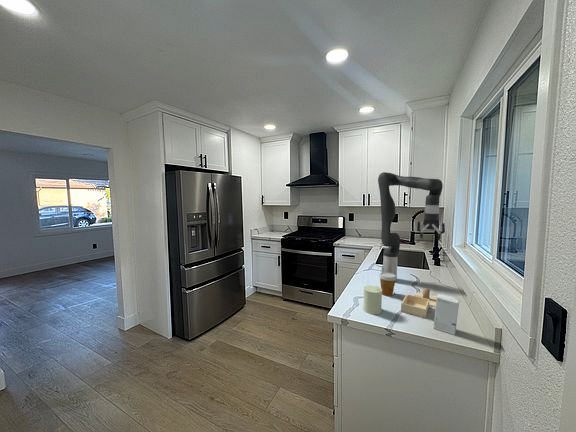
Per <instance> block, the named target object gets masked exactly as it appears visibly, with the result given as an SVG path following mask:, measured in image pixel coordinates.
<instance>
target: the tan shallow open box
mask: <svg viewBox="0 0 576 432" xmlns="http://www.w3.org/2000/svg"><path fill="white" fill-rule="evenodd" d="M400 306H401V307H400V312H401V313H404V314H408V315H410V316H411V315H412V316H415V317H418V318H419V317H420V318H422V319H426V317H427V314H428V312H429V308H430V305H429V299H426V298H422V297H418V296H415V295H414V294H413V295H412V294H407V293H406V294H405V295H404V298H403V299H402V301H401V305H400Z"/></svg>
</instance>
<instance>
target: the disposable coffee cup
mask: <svg viewBox="0 0 576 432" xmlns="http://www.w3.org/2000/svg"><path fill="white" fill-rule="evenodd" d="M379 280H380V281H379V282H380V288H381V289H382V296H385V297H392V296H393V295H394V290H395V284H396V281H395V280H396V276H395V275H394V274H392V273H382V272H381V273H380V274H379Z"/></svg>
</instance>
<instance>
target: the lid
mask: <svg viewBox="0 0 576 432" xmlns="http://www.w3.org/2000/svg"><path fill="white" fill-rule="evenodd" d="M422 290H423V292H419V291H416V293H415V295H414V296H418V297H422V298H426V299H429V307H430V306H431V307H434V308H436V300H437V296H438V295H434V294H433V295H432V294H431V289H430V288H427V287H424V288H423V289H422Z"/></svg>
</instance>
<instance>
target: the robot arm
mask: <svg viewBox="0 0 576 432" xmlns="http://www.w3.org/2000/svg"><path fill="white" fill-rule="evenodd" d="M377 182H378V183H377V184H378V189H379V197H380V214H381V232H380V233H381V234H380V235H381V236H380V238H381V239H380V240H381V244H382V245H383V246H384V247H387V249H385V250H383V256H382V259H383V261H382V267H381V273H392V274H394V275H395V276H396V280H395V282H397V280H398V279H397V278H398V256H399V253H400V248H401V247H400V246H401V237H400V235H399V234H398V233H397V232H391V225H392V222H393V220H395V219H394V218H395V216H396V203H395V201H394V199H393V196H392V194H391V192H390V187H391V186H392V187H393V186H400V187H401V186H402V187H406V188H409V189H410V188H411V189H416V190H417V189H418V190H422V191H429V193H428V195H426V196H425V206H424V213H423V214H424V216H423V217H424V218H423V221H421V220H419V221H418V222H417V226H416V231H417V232H419V234H420V235H419V237H420V239H424V231H425V230H426V229H427V230H435V231H436V232H437V241H440V240H441V239H442V237H441V236H442V234H445V232H446V229H445V228H446V223H445V222H440V221H439V220H440V198H441V195H442V192H443V191H442V190H443V187H444V185H443V181H442V180H441V179H439V178H424V177H421V176H419V177H417V176H402V175H398V174H395V173H392V172H387V171H386V172H381V173H380V174H378V178H377ZM422 225H423V226H424V227H422V229H421V226H422ZM439 226H440V227H441V230H440V229H439V228H438V227H439Z"/></svg>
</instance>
